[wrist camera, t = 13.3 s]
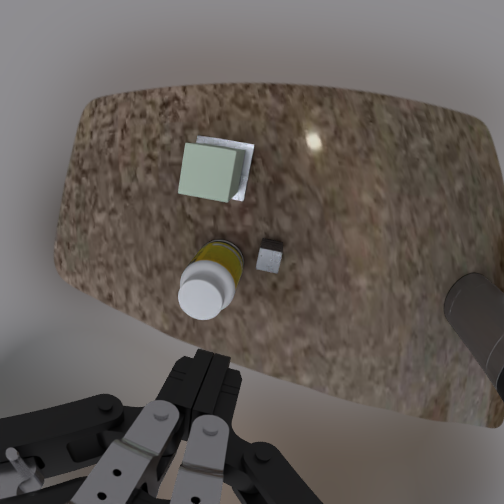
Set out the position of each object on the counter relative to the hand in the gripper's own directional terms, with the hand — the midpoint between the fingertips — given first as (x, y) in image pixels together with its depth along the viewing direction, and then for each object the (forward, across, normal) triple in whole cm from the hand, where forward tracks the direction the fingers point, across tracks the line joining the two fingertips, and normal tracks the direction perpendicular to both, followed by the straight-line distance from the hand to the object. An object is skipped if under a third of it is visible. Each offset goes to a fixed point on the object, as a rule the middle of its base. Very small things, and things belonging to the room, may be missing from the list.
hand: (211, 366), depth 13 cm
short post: (+27, -1, +3) cm, 27 cm away
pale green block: (+26, +7, -6) cm, 27 cm away
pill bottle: (+27, +5, +6) cm, 28 cm away
